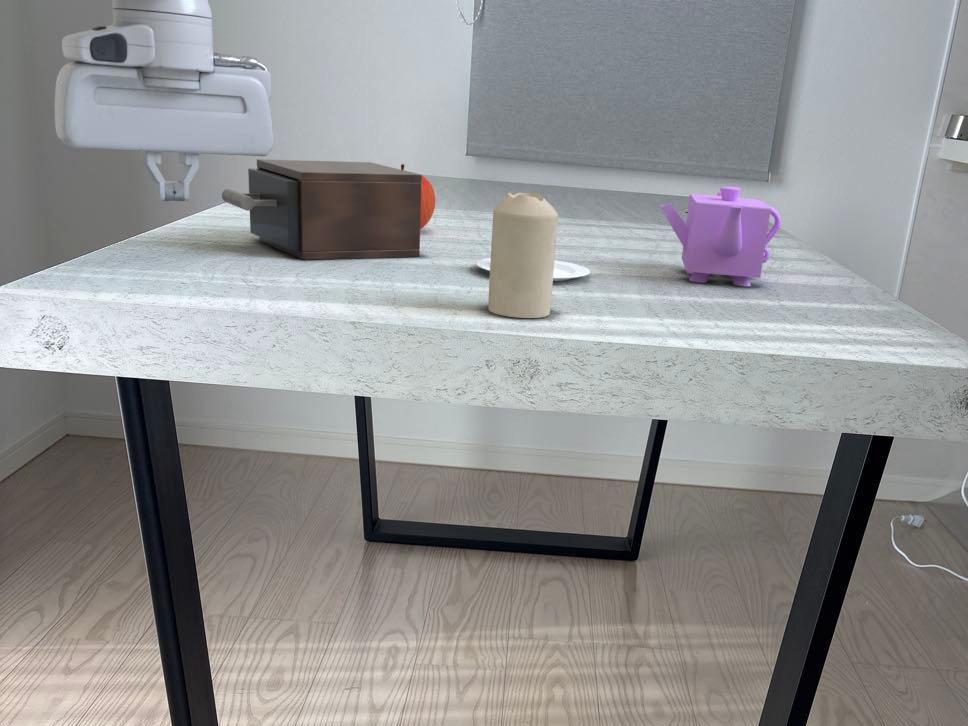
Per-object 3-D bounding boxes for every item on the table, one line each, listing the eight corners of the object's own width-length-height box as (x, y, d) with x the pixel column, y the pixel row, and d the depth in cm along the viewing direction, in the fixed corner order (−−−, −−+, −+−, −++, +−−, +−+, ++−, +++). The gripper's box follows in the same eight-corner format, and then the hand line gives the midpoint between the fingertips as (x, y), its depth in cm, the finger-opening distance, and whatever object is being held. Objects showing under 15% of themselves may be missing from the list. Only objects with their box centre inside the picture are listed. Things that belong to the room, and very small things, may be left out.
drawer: (252, 251, 106) (249, 180, 103) (215, 233, 115) (212, 167, 112) (398, 247, 115) (399, 182, 112) (354, 231, 123) (354, 170, 121)
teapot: (650, 260, 126) (660, 174, 122) (760, 270, 125) (774, 184, 122) (655, 287, 109) (667, 188, 105) (782, 298, 109) (799, 200, 105)
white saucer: (467, 262, 115) (469, 221, 113) (573, 266, 118) (577, 226, 116) (486, 283, 105) (488, 238, 103) (602, 287, 107) (606, 243, 106)
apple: (431, 237, 130) (433, 169, 127) (366, 232, 130) (366, 163, 127) (437, 229, 137) (439, 164, 134) (374, 224, 137) (375, 159, 134)
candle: (545, 321, 90) (554, 199, 86) (482, 314, 91) (488, 193, 87) (554, 309, 95) (563, 193, 91) (494, 303, 96) (500, 187, 92)
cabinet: (302, 259, 109) (301, 172, 105) (259, 240, 118) (256, 159, 115) (419, 256, 116) (422, 174, 113) (370, 238, 125) (370, 162, 122)
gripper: (259, 57, 108) (261, 198, 113) (43, 37, 97) (57, 194, 102) (282, 59, 103) (283, 206, 109) (57, 38, 92) (72, 202, 98)
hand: (172, 200), depth 105 cm, fingers closed
